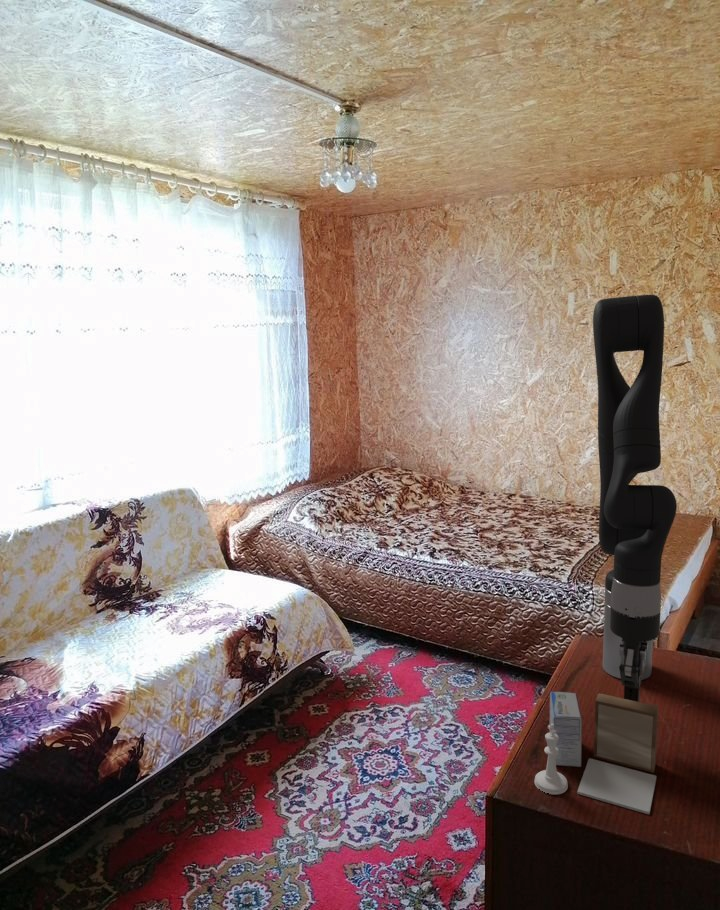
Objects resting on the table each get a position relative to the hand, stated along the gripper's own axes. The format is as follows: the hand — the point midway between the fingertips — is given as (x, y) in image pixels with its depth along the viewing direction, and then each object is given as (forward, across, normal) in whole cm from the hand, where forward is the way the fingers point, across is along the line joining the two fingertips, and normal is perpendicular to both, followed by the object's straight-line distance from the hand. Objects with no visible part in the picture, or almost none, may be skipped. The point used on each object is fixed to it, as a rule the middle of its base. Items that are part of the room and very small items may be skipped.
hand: (631, 703), depth 113 cm
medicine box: (+7, +8, -9) cm, 14 cm away
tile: (+7, +6, 0) cm, 9 cm away
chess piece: (+7, +17, -9) cm, 21 cm away
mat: (+7, +13, 0) cm, 15 cm away
